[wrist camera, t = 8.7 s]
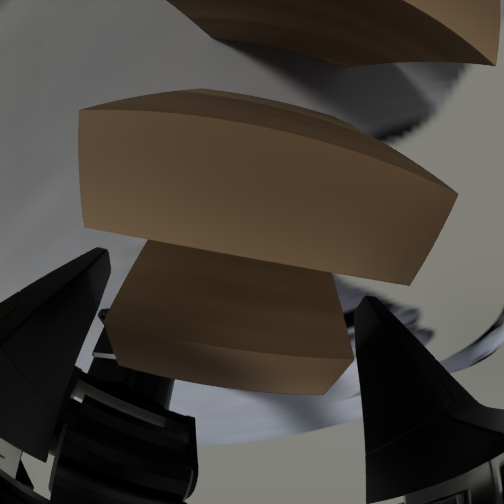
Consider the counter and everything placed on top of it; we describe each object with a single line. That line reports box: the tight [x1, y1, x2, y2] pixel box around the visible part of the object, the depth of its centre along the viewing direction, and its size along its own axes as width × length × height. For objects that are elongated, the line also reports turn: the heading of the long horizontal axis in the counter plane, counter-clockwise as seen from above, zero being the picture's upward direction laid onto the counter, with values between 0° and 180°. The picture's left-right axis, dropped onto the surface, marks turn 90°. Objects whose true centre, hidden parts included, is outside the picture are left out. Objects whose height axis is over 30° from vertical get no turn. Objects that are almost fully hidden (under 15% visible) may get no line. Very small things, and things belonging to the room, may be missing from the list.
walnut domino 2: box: [78, 89, 458, 286], centre depth 7 cm, size 2×6×9 cm, turn 79°
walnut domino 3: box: [103, 239, 355, 395], centre depth 10 cm, size 2×6×9 cm, turn 79°
